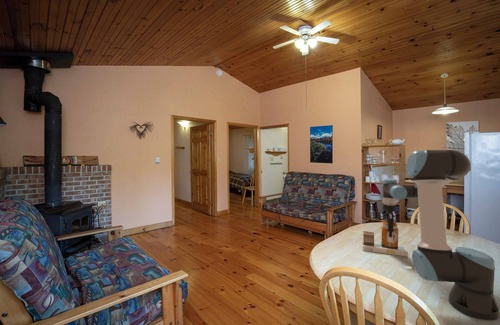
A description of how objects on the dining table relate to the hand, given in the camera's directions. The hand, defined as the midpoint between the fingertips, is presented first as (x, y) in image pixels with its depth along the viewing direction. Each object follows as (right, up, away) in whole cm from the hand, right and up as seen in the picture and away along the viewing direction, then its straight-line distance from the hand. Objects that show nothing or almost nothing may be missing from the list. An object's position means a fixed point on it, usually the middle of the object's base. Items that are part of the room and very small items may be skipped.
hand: (389, 238), depth 154 cm
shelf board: (-3, -8, +1) cm, 8 cm away
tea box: (-11, -7, +5) cm, 13 cm away
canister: (0, -6, 0) cm, 6 cm away
